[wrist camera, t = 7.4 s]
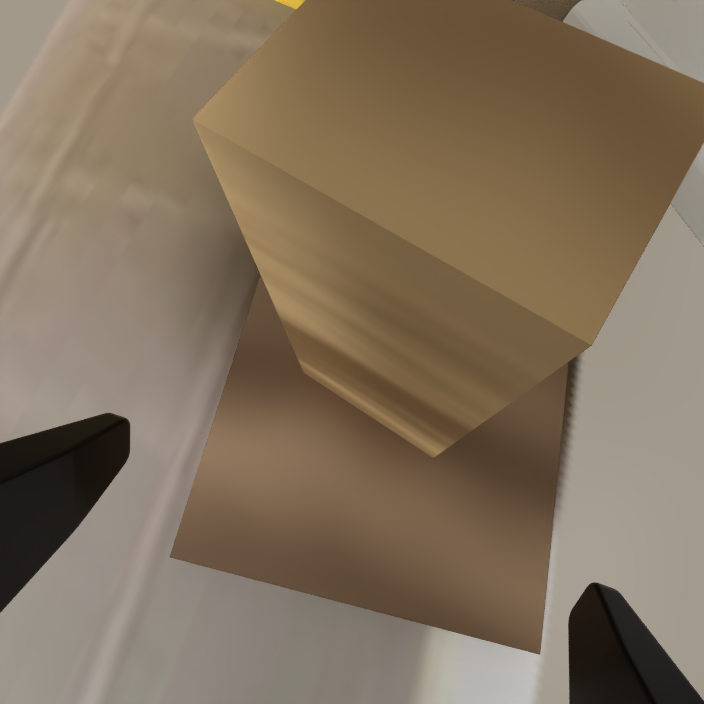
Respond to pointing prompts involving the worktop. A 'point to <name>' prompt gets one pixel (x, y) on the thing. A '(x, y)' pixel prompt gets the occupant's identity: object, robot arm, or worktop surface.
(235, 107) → the wooden block
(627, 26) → the grey angled piece
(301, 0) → the dish sponge
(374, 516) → the base board
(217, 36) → the worktop surface
